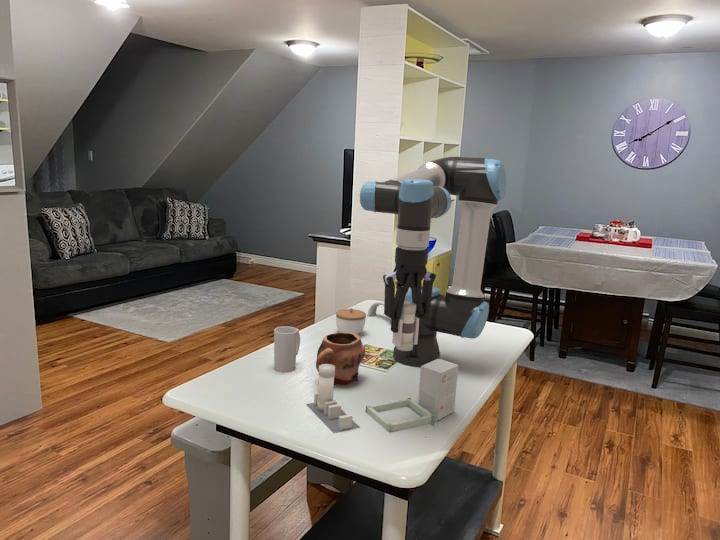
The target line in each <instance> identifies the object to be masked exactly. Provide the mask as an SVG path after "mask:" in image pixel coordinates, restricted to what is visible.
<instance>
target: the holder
mask: <svg viewBox="0 0 720 540" xmlns="http://www.w3.org/2000/svg"><path fill="white" fill-rule="evenodd" d="M334 376H335V366H334V365H331V364H322V365H320V366H319V373H318V389H317V390H318V391H317V392H314V394H313V396H314V397H313V402H310V403H305V405H306V406H307V407H308V408H309V410H310V411H312V413H314V415H315V416H316V417H317V418H318V419H319V420H320V421H321V422H322V423H323V424H324V425H325V426H326V427H327V428H328V430H330V431H331V432H332V433H333V434H336V433H341V432H346V431H350V430H357V429H360V428H361V426H359V424H358V423H356V422H355V421H354V420H353V415H352V414H347V413H345V412H344V410H343V409H342V405H341V403H338V401H337V400H336V399H335V400H334V388H335V387H334V386H335V385H334Z"/></svg>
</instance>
